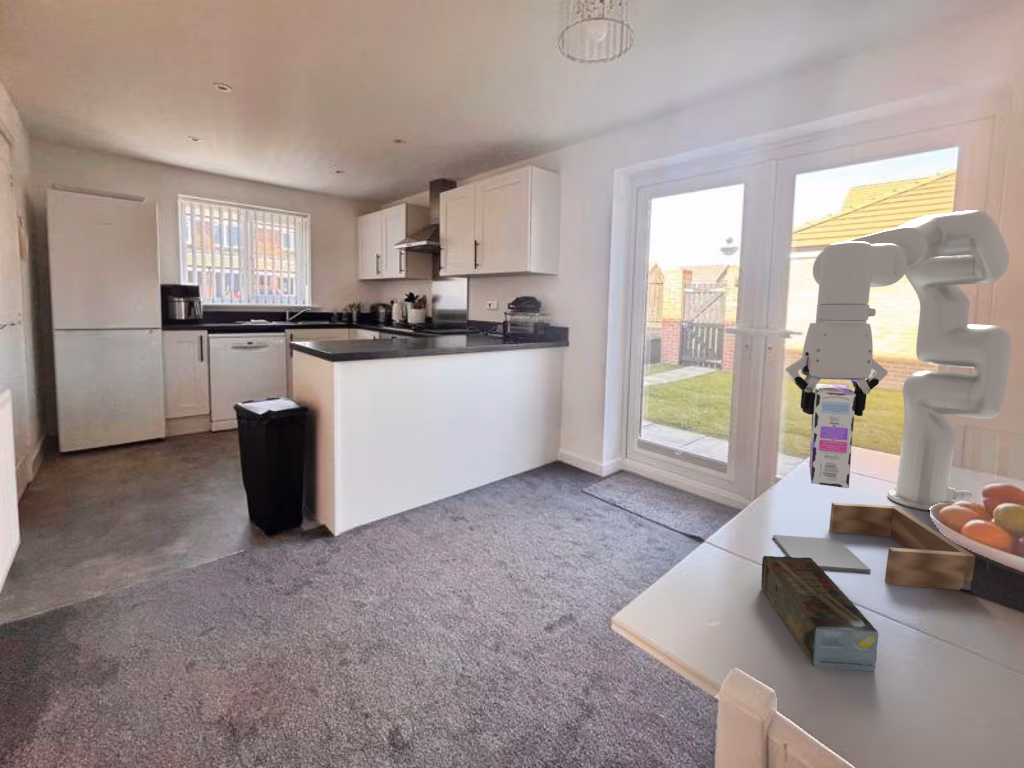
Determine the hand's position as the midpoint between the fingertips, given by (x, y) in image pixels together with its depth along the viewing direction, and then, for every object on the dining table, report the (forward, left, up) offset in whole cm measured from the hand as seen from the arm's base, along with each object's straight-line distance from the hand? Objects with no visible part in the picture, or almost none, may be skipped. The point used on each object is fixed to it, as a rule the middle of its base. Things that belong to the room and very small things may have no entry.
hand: (831, 413), depth 91 cm
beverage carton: (+11, +23, -28) cm, 38 cm away
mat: (0, 0, -27) cm, 27 cm away
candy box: (0, 0, -12) cm, 12 cm away
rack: (-13, -1, -27) cm, 30 cm away
